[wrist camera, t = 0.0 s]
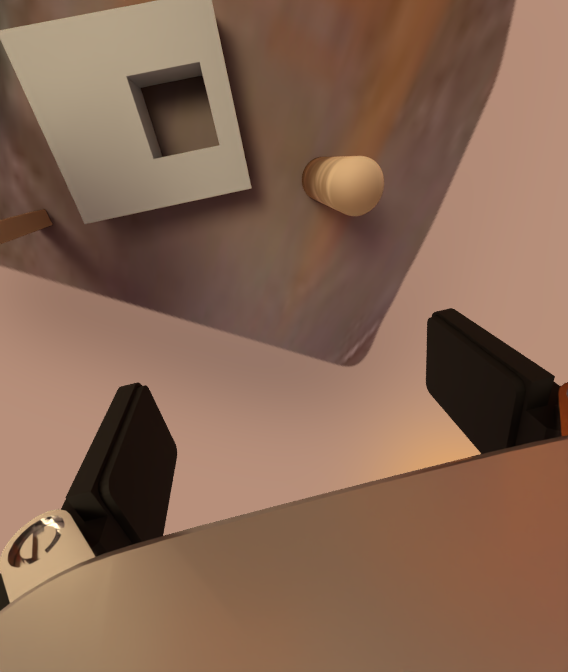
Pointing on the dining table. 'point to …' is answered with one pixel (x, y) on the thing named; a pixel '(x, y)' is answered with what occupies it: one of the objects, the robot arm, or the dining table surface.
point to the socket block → (127, 104)
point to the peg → (344, 183)
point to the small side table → (23, 225)
